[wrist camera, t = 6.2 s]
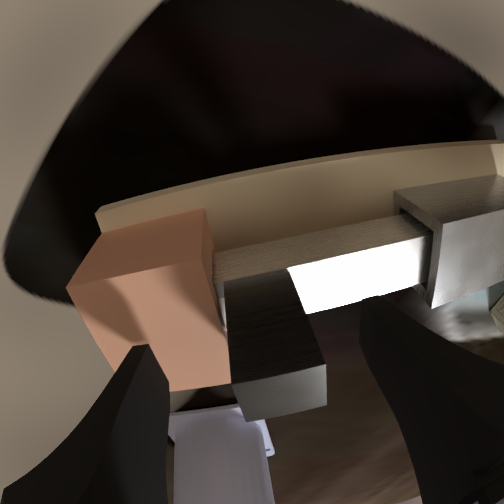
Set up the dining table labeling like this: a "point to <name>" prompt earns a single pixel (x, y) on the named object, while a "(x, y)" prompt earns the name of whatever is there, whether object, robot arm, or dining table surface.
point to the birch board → (308, 191)
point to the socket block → (156, 298)
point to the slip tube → (305, 303)
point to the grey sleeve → (459, 234)
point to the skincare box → (499, 314)
